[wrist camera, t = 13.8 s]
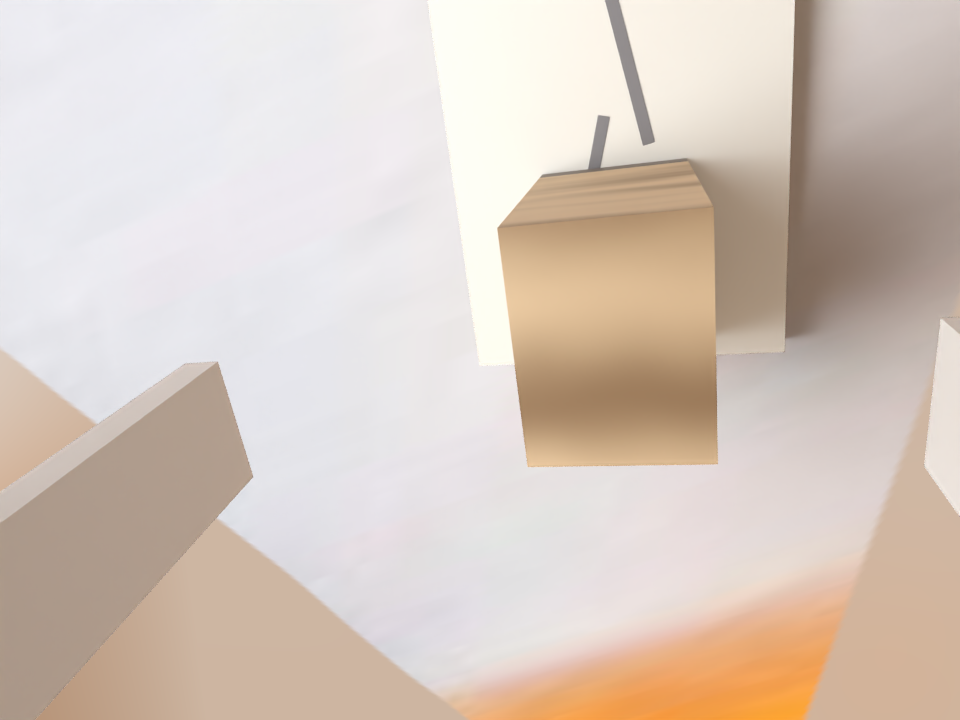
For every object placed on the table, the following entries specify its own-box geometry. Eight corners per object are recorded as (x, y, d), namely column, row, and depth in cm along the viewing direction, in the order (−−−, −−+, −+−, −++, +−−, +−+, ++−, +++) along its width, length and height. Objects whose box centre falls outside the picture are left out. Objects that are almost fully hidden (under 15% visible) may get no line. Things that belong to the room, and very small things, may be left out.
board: (405, -220, 27) (393, -235, 26) (795, -319, 24) (805, -343, 22) (485, 354, 36) (479, 365, 34) (778, 339, 32) (784, 352, 31)
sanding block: (542, 174, 30) (497, 228, 20) (686, 158, 29) (713, 206, 19) (559, 346, 33) (527, 466, 23) (691, 339, 32) (717, 464, 22)
